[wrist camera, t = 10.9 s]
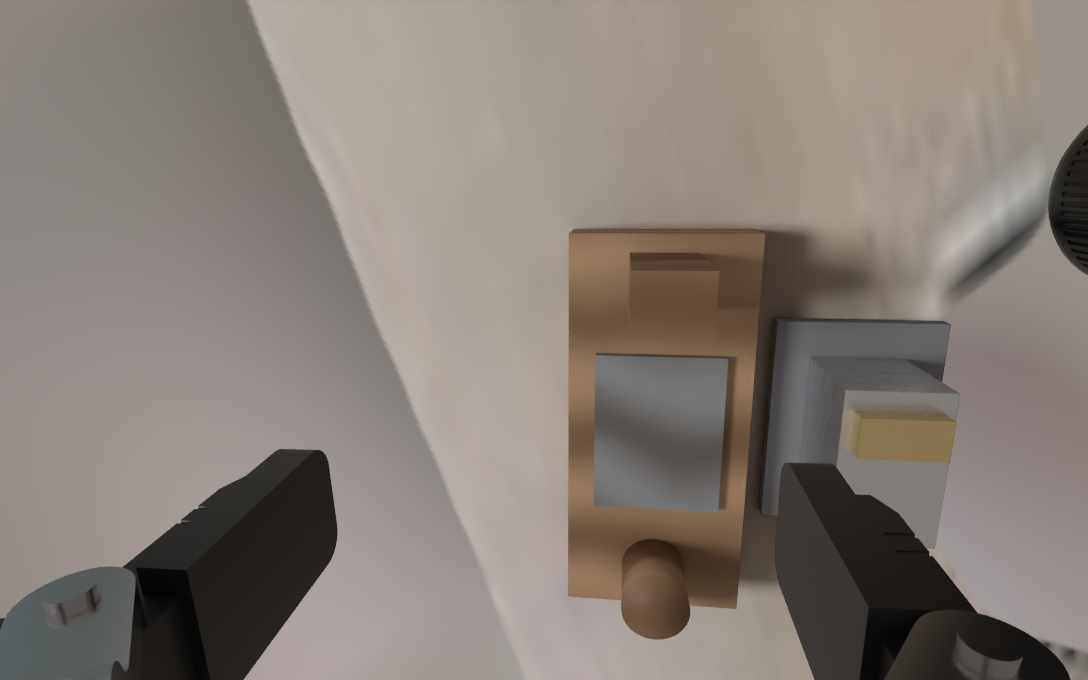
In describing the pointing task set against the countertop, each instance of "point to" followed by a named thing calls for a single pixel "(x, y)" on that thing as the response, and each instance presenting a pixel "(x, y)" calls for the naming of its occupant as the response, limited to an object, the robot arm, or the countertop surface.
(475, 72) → the countertop surface
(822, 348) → the rubber mat
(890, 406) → the grey labelled box
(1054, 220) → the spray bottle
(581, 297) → the plane body
